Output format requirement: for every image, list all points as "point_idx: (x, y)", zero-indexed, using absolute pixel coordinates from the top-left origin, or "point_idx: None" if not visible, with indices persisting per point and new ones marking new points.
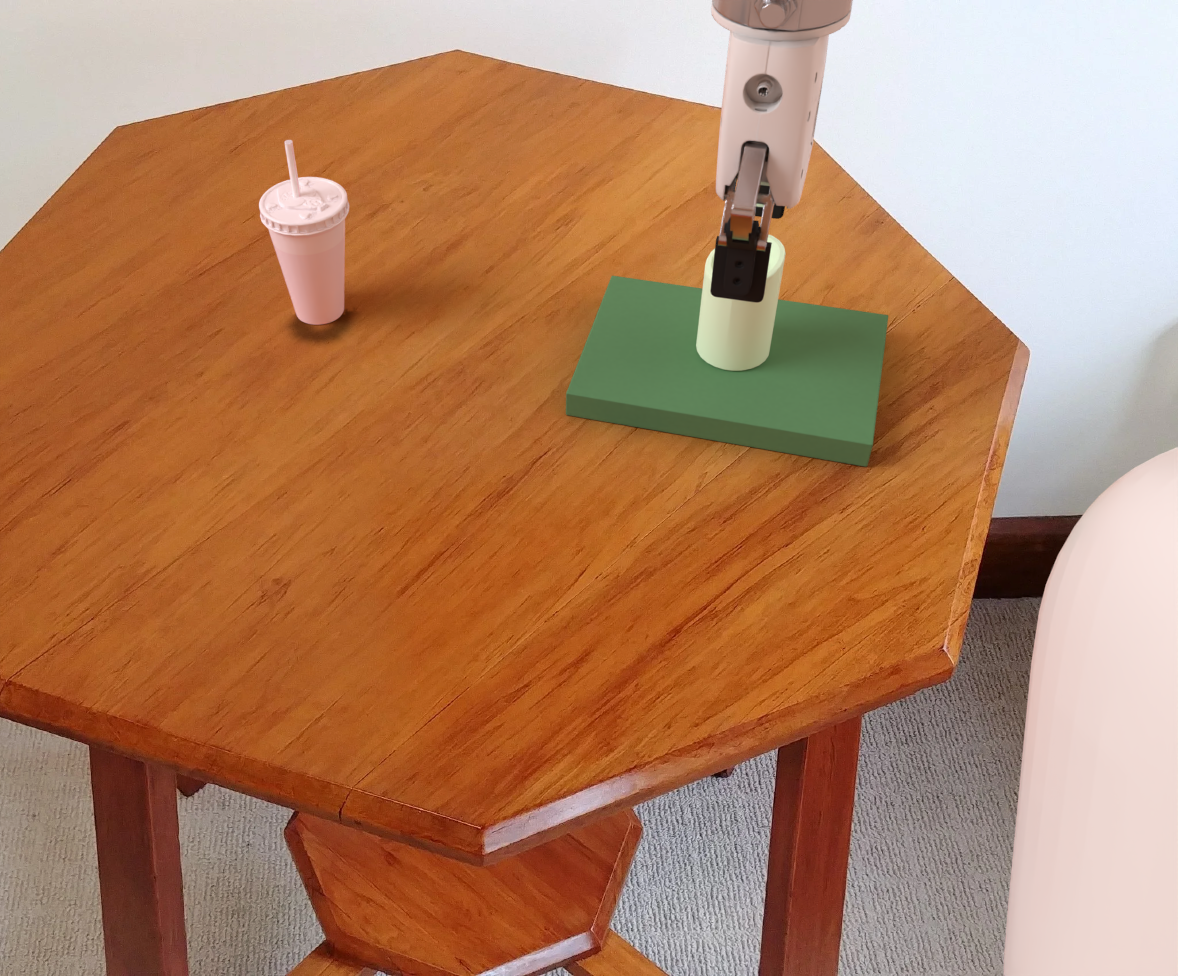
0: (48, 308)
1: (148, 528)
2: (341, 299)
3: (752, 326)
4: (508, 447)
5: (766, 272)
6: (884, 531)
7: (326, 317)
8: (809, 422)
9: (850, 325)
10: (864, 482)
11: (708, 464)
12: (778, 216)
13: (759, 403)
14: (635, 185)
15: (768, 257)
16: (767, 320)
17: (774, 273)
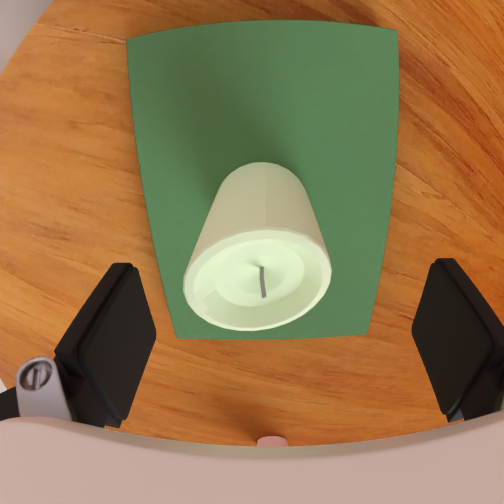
0: None
1: (439, 425)
2: (273, 445)
3: (311, 210)
4: (398, 338)
5: (482, 297)
6: (458, 31)
7: (284, 441)
8: (379, 99)
9: (162, 74)
10: (405, 39)
11: (411, 191)
12: (135, 271)
13: (359, 159)
14: (38, 321)
15: (499, 323)
16: (293, 192)
17: (303, 234)
